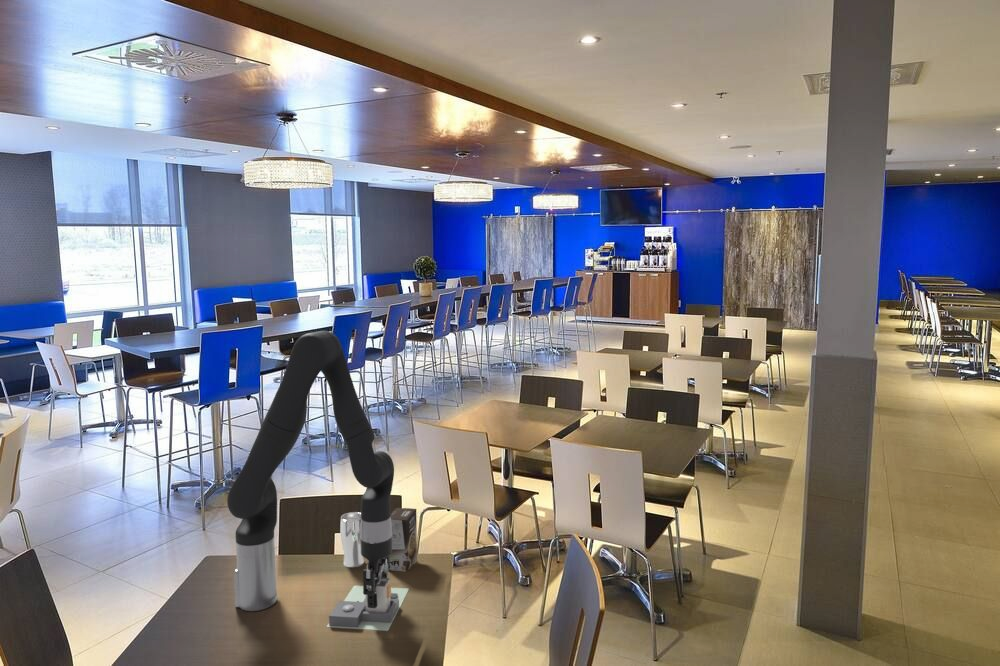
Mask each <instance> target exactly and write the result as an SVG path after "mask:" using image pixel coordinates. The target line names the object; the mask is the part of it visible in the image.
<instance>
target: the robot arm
mask: <svg viewBox="0 0 1000 666" xmlns="http://www.w3.org/2000/svg"><path fill="white" fill-rule="evenodd" d="M291 349H292V350H291V352H290V354H289V359H288V362H287V364H286V367H285V371H284V374H283V376H282V378H281V379H282V380H281V382H280V384H279V386H278V388H277V390H276V393H275V395H274V397H273V399H272V402H271V403H270V405H269V408H268V410H267V412H266V414H265V417H264V419H263V421H262V422H261V425H260V427H259V430H258V433H257V436H256V438H255V440H254V442H253V445H252V446H251V449H250V451H249V454H248V456H247V459H246V460H245V463H244V465H243V466H242V468H241V470H240V472H239V473H238V475H237V477H236V478H235V480H234V482H233V483H232V485H231V487H230V488H229V491H228V494H227V499H226V500H227V501H226V503H227V508H228V510H229V512H230V514H231V515H232V516H233V517H235V518H237V519H239V520H241V521H240V522H239V525H238V526H237V527H236V529H235V552H236V569H235V570H234V572H233V579H234V580H233V584H234V585H233V586H234V603H235V606H234V607H235V608H240V609H241V610H243V611H247V612H258V611H262V610H265V609H268V608H270V607H272V606H273V605H274V604H275V603H276V602H277V600H278V594H277V593H278V591H277V589H278V588H277V570H276V569H277V567H276V546H275V529H276V526H277V522H278V493H277V488H276V484H275V482H274V481H273V479H272V478H271V477H272V476H273V474H274V472H275V471H276V470H277V468H279V466H280V464H281V463H282V462H283V461H284V460H285V459H286V457H287V456H288V455H289V453H291V450H292V449H293V447H294V446H295V444H296V443H297V441H298V439H299V437H300V435H301V432H302V430H303V429H304V426H305V424H306V420H307V414H308V413H307V412H308V397H309V394H310V391H311V389H312V387H313V384H314V383H315V380H316V378H317V377H318V375H319V374H320V373H322V374H323V376H324V378H325V380H326V383H327V384H328V387H329V389H330V393H331V401H332V408H333V416H334V419H335V422H336V425H337V428H338V430H339V432H340V434H341V437H342V438H343V441H344V443H345V444H346V446H347V452H348V457H349V458H348V459H349V462H350V467H351V471H352V473H353V476H354V478H355V479H356V481H357V482H358V484H359V485H361V486H362V487H364V488H366V490H365V491H364V493H363V495H362V496H361V499H360V513H361V525H360V538H361V555H362V556H363V559H366V560H367V561H368V562H367V564H366V566H365V567H366V568H365V569H363V570H362V582H363V584H362V586H363V594H364V595H367V602H368V608H376V607H377V589H378V584H379V583H380V582H381V578H388V575H389V570H388V569H390V554H391V553H392V524H391V516H390V514H391V496H392V495H391V494H392V489H393V485H394V484H393V483H394V477H395V465H394V462H393V459H392V457H391V456H390V455H389V454H388V453H387V452H385V451H380V450H379V451H374V448H373V443H374V441H375V439H376V438H375V437H376V436H375V432H374V430H373V427H372V426H371V422H370V421H369V419H368V417H367V415H366V413H365V411H364V409H363V407H362V404H361V401H360V399H359V397H358V394H357V391H356V389H355V385H354V382H353V379H352V376H351V372H350V370H349V367H348V363H347V359H346V356H345V353H344V349H343V346H342V343H341V341H340V339H339V338H338V336H336V334H334V332H331V331H328V330H319V331H312V332H308V333H304V334H303V335H301V336H300V337H299V338H298V339H297V340H296V341H295V343H294V344H293V346H292V348H291ZM375 578H377V579H375ZM370 585H371V588H370Z"/></svg>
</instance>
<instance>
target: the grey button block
mask: <svg viewBox="0 0 1000 666" xmlns="http://www.w3.org/2000/svg"><path fill="white" fill-rule="evenodd" d="M362 611H366V602H359V601H357V602H352V601H344V600H339V601H338V602H337V604H336V605H335V606H334V608H333V609H332V611H331V612H330V613H329V615H328V624H329V626H341V627H357V628H358V626H359V625H360V623H361V613H362Z"/></svg>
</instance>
